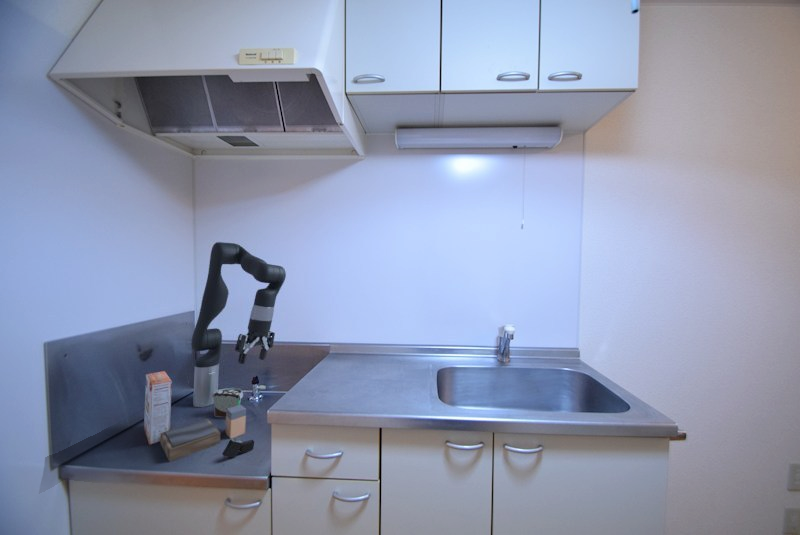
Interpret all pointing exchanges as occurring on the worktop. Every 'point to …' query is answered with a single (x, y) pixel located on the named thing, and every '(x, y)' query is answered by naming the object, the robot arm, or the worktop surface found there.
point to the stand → (189, 439)
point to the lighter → (237, 447)
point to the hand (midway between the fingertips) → (251, 361)
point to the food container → (226, 400)
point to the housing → (235, 421)
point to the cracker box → (157, 406)
